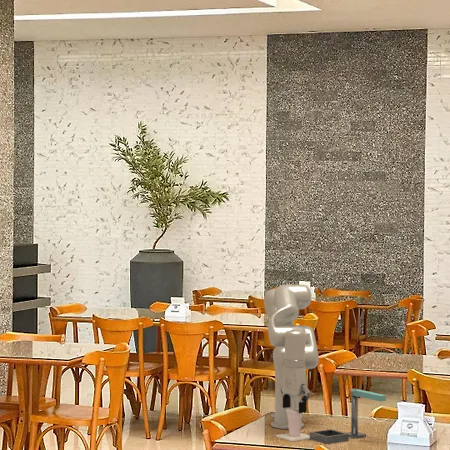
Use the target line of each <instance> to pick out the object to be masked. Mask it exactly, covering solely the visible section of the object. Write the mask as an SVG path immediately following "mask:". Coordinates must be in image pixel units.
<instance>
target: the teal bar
mask: <svg viewBox="0 0 450 450" xmlns="http://www.w3.org/2000/svg"><path fill="white" fill-rule="evenodd" d="M351 395H354V396H358V398H359V397H360V398H362V399H363V398H364V399H368V400H371V401H376V402H387V401H386V400H387V395H386V394H382V393H381V394H380V393H376V392H372V391H368V390H367V391H366V390H362V389H359V388H350V396H351Z"/></svg>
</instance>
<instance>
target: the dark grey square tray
mask: <svg viewBox="0 0 450 450" xmlns="http://www.w3.org/2000/svg"><path fill="white" fill-rule="evenodd" d="M309 436H310V439H309V440H311V441H314V442H317V443H318V442H319V443H322V444H325V445H329V444H336V443H343V442H349V434H347V432H344V431H343V432H342V431H340V430H335V429H332V428H330V429H324V430H316V431H310V432H309Z"/></svg>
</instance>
